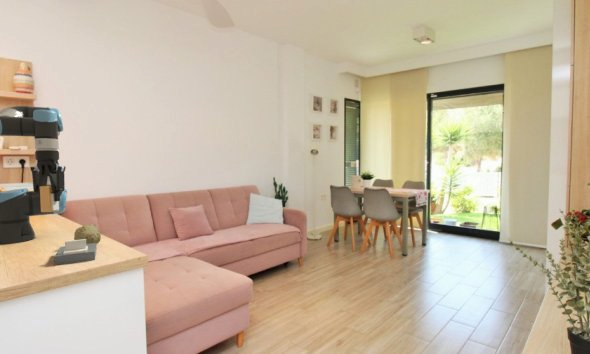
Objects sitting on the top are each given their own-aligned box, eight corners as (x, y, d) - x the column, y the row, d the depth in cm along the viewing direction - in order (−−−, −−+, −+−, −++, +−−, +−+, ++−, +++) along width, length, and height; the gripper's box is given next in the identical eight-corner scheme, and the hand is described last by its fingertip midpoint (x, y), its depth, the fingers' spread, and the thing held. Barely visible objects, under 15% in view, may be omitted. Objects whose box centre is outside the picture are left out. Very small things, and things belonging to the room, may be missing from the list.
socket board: (60, 254, 130) (60, 246, 130) (96, 250, 136) (96, 242, 136) (54, 264, 117) (54, 256, 117) (94, 259, 123) (94, 251, 123)
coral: (109, 227, 147) (89, 222, 139) (100, 250, 144) (79, 246, 136) (94, 224, 151) (74, 219, 142) (85, 246, 148) (64, 242, 139)
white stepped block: (65, 250, 125) (65, 239, 125) (87, 247, 128) (87, 237, 128) (63, 254, 119) (62, 243, 119) (86, 252, 122) (86, 241, 122)
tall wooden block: (41, 212, 130) (39, 186, 130) (49, 210, 134) (48, 185, 134) (50, 212, 130) (48, 186, 129) (58, 210, 134) (57, 185, 133)
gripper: (18, 150, 129) (22, 211, 130) (58, 149, 126) (61, 211, 127) (36, 151, 136) (39, 208, 137) (74, 149, 134) (77, 208, 135)
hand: (50, 209), depth 132 cm, fingers closed on tall wooden block, 4 cm apart
